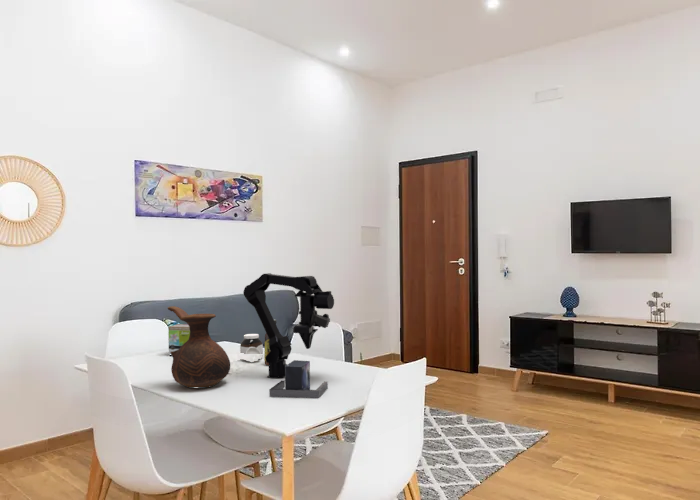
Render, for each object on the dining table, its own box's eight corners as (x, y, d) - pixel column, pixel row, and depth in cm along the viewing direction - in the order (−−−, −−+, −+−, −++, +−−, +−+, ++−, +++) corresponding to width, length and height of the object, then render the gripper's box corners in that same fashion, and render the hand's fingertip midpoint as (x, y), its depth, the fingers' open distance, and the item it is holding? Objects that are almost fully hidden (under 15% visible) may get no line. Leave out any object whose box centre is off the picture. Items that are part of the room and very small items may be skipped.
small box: (302, 397, 187) (302, 366, 187) (284, 396, 189) (283, 365, 189) (311, 389, 198) (310, 360, 198) (294, 388, 199) (293, 359, 199)
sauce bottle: (267, 366, 239) (266, 321, 239) (262, 364, 244) (261, 319, 244) (281, 364, 242) (280, 319, 242) (276, 362, 247) (275, 318, 247)
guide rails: (269, 396, 188) (269, 389, 188) (281, 387, 201) (281, 380, 201) (318, 398, 185) (318, 390, 185) (327, 388, 198) (327, 381, 198)
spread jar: (254, 357, 261) (254, 332, 261) (270, 359, 254) (270, 334, 254) (234, 361, 252) (234, 336, 252) (250, 364, 245) (250, 338, 245)
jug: (211, 375, 224) (210, 302, 224) (241, 383, 208) (239, 304, 208) (160, 385, 209) (158, 306, 209) (188, 395, 193) (186, 310, 193)
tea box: (168, 356, 269) (167, 326, 269) (177, 352, 279) (177, 323, 279) (197, 356, 266) (196, 326, 266) (205, 352, 276) (205, 323, 276)
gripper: (321, 311, 203) (322, 353, 203) (333, 305, 221) (334, 344, 221) (292, 310, 205) (293, 352, 205) (307, 305, 223) (307, 344, 223)
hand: (308, 348), depth 213 cm, fingers closed
